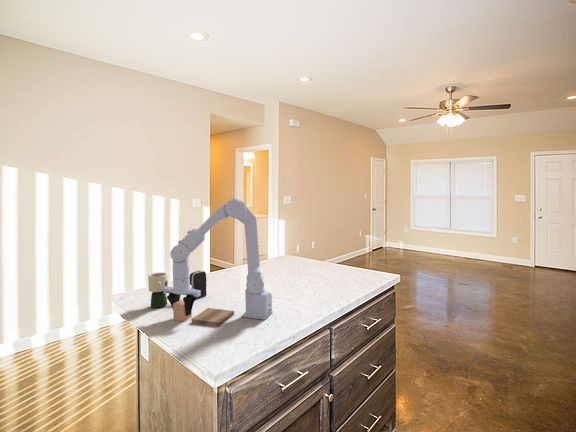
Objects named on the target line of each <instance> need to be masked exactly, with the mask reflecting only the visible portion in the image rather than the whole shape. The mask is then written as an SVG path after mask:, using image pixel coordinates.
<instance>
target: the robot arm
mask: <svg viewBox="0 0 576 432" xmlns="http://www.w3.org/2000/svg"><path fill="white" fill-rule="evenodd" d="M229 217H231V218H234V219H236V220H238V221H239V222H240V223H241V224H243V225H244V233H245V247H246V250H245V251H246V260H247V261H246V262H247V275H246V277H245V278H246V284H245V286H246V289H245V291H244V292H245V299H244V300H245V312H244V313H242V314H241V317H242V318H249V319H256V320H266V319H268V318H269V316H270V315H271V314H273V312H274V310H273V298H272V297H273V296H272V293H271V292H270V291H269V292H268V291H266V289H265V288H264V286H265V284H264V276H263V273H261V266H260V253H259V250H260V249H259V239H258V226H257V224H258V223H257V217H256V215H255V214H254V213H253V211H252V210H251V209H250V208H249V207H248V205H247V204H246V203H245V202H243V201H242V200H240V199H238V198H232V199H230V200H228V201H227V202H226V203H225V204H223V205H221V206H220V207H219V208H217V209H216V210H214V212H213V213H212V214H211V215H210V216H209V217H208V218H207V219H206V220H205V221H204V222H203V223H202V225H201V226H200V227H197V228H192V229H189V230H188V231H187V232H186V233H187V234H186V235H185V236H184V237H183V238H182V239H180V240H178V241H177V244H176V245H175V246H173V247H172V249H171V251H170V258H171V260H172V286H168V287H166V288H163V291H164V294H166V298H167V301H168V302H169V303H170V305H171V308H172V309H173V304H174V303H176V302H177V301H179V300H181V296H184V297H183V298H182V300H184V303H185V311H186V316H189V315H190V314H191V311H193V307H194V304H195V301H196V300H197V299H196V297H199V296H201V290H196V289H193V288H192V287H191V285H190V264H189V262H190V261H189V259H190V258H189V257H190V254H191V253H193V252H194V251H195V250H196V249H197V248H198V247H199V246H200V245H201V244H202V243H203V242H204V241H206V240H205V239H206V234H207V233H208V232H209V231H210V230H211V229H212V228H213V227H215V225H217V224H218V223H219V222H220V221H221V220H224V219H228V218H229ZM167 294H168V295H167Z"/></svg>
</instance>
